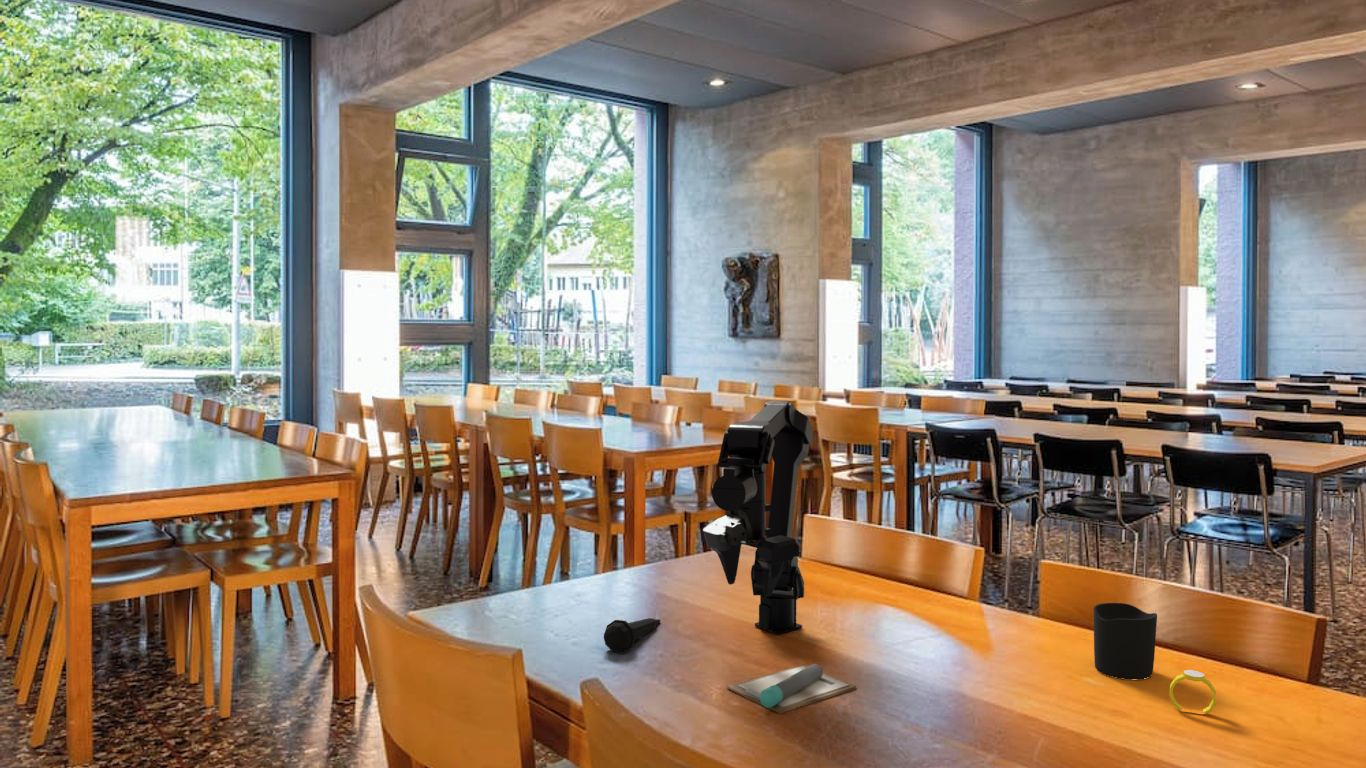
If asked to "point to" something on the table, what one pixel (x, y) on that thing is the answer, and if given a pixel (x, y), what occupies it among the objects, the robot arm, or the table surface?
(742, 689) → the clipboard
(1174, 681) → the watch
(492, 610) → the table surface
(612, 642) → the microphone
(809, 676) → the marker
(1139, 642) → the pen holder
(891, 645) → the table surface
